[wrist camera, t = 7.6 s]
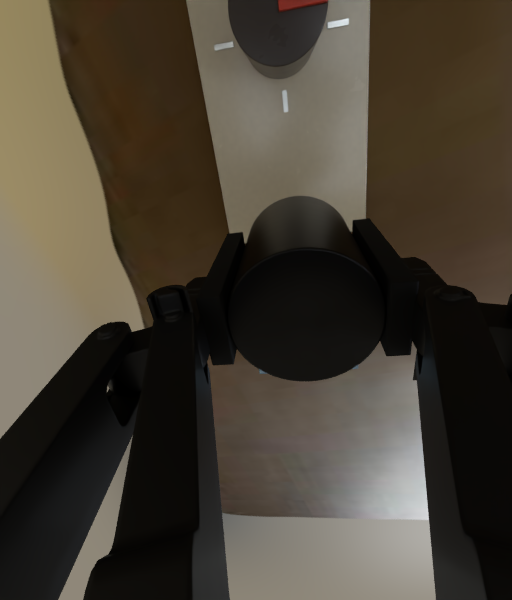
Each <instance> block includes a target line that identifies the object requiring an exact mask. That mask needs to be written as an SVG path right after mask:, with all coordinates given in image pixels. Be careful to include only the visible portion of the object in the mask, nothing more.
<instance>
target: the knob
mask: <svg viewBox="0 0 512 600" xmlns="http://www.w3.org/2000/svg"><path fill="white" fill-rule="evenodd" d="M327 10H328V0H228V15H229V21H230V25H231V28H232V32H233V34H234V36H235V39H236V41H237V42H238V44H239V46H240V47H241V49H242V50H243V52H244V53H245V55H246V56H247V58H248V59H249V61H250V62H251V64H252V65H253V67H254V68H255V69H256V70H257V71H258V72H259V73H261V74H262V75H264V76H266V77H268V78H272V79H284V78H288V77H290V76H293V75H294V74H296V73H297V72H299V71H300V70H301V69H302V68H303V67H304V66H305V64H306V63H307V62H308V60H309V58H310V57H311V54H312V52H313V50H314V48H315V45H316V43H317V41H318V38H319V36H320V34H321V31H322V29H323V26H324V23H325V20H326V15H327Z"/></svg>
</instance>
